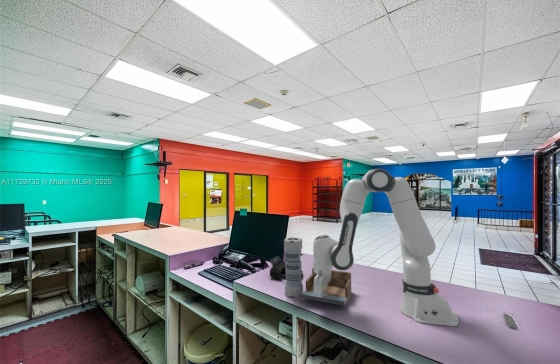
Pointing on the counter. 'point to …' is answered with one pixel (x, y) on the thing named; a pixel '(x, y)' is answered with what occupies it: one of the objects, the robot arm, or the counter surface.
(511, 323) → the stone tool
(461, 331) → the counter surface
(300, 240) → the canister
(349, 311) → the counter surface
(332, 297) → the panel
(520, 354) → the counter surface
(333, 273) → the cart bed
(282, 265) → the virtual reality headset
